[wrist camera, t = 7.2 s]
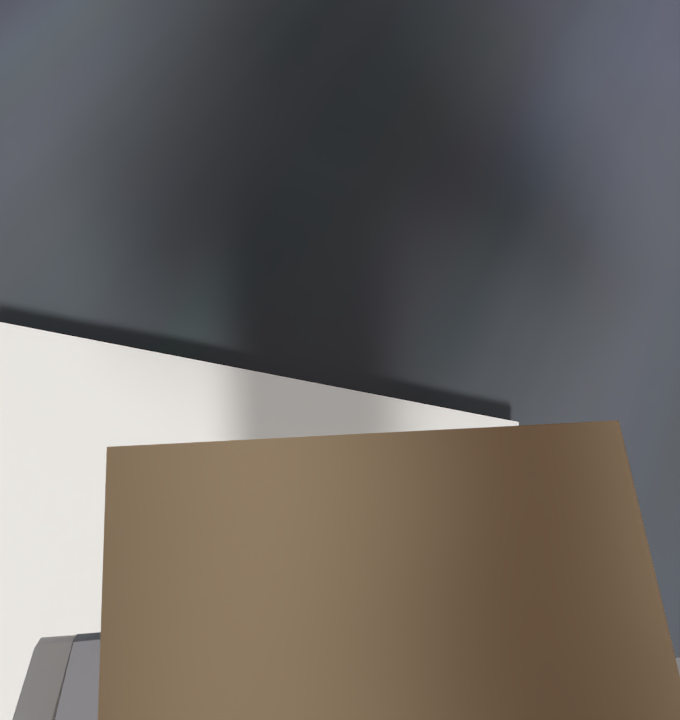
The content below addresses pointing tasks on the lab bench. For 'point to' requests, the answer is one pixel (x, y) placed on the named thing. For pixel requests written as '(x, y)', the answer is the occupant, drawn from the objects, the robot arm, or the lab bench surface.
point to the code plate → (127, 428)
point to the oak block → (382, 579)
